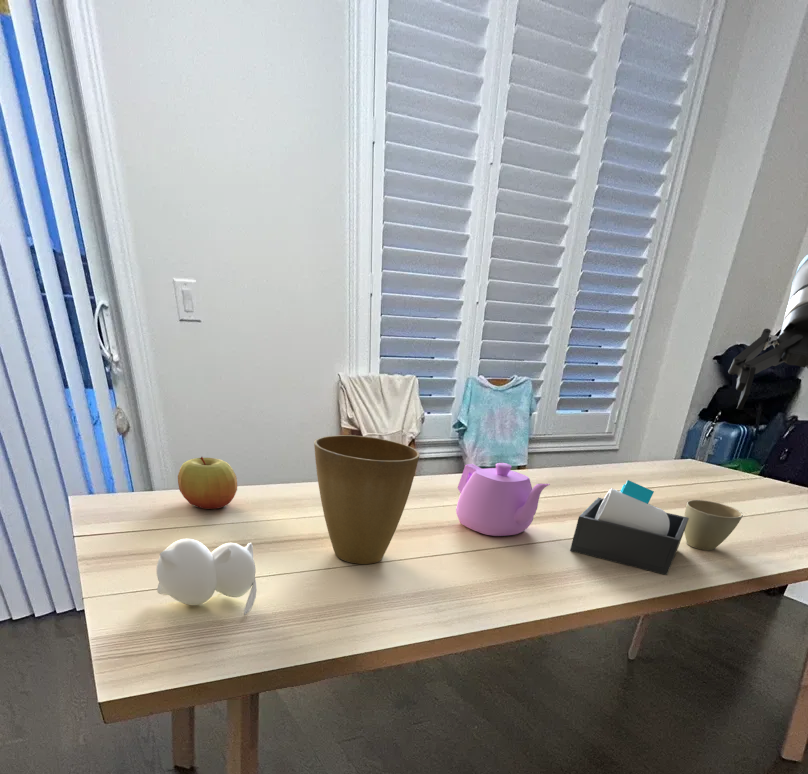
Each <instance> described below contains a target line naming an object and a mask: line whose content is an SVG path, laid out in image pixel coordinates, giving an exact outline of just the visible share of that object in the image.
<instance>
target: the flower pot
mask: <svg viewBox="0 0 808 774" xmlns="http://www.w3.org/2000/svg"><path fill="white" fill-rule="evenodd" d="M683 514H684V515H683V517H688V518H689V519H688V522H687V525H686V528H685V530H684V538H685V542H686V544H687V545H688V546H690V547H692V548H694V549H697V550H701V551H713V550H715V549H716V548H717V547H719V546H720V545H721V544H722V543H723V542H724V541H725V540H726V539H727V538H728V537H729V536H731V533H733V532H734V531H735V529H736V528H737V526H738V525H739V524H740V522H741V520H742V518H743V516H744V514H743V512H742V511H740V510H739V509H736V508H734V507H732V506H729V505H728V504H727V505H726V504H723V503H720V502H715V501H711V500H703V499H691V500H688V501H687V502H686V504H685V509H684V513H683Z"/></svg>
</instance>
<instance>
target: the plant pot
mask: <svg viewBox="0 0 808 774" xmlns="http://www.w3.org/2000/svg"><path fill="white" fill-rule="evenodd" d="M313 446H314V447H313V448H314V460H315V468H316V477H317V484H318V490H319V496H320V502H321V506H322V512H323V516H324V520H325V525H326V529H327V534H328V536H329V539H330V543H331V546H332V549H333V552H334V555H335V556H336V557H337V558H338V559H340V560H341V561H344V562H347V563H350V564H358V565H371V564H376V563H379V562H380V561H382V559H383V558H384V555H385V554H386V552H387V550H388V547H389V546H390V543H391V542H392V539H393V537H394V535H395V533H396V531H397V528H398V526H399V524H400V520H401V518H402V516H403V513H404V510H405V508H406V504H407V502H408V498H409V496H410V492H411V489H412V485H413V483H414V478H415V475H416V471H417V467H418V464H419V459H420V456H421V454H420V452H419V451H418V450H417V449H415V448H414V447H412V446H410V445H406V444H404V443H401V442H397V441H394V440H389V439H384V438H379V437H372V436H363V435H351V434H342V435H339V434H338V435H337V434H336V435H327V436H321V437H318V438H316V439H315V440H314V441H313Z"/></svg>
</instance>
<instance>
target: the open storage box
mask: <svg viewBox="0 0 808 774" xmlns="http://www.w3.org/2000/svg"><path fill="white" fill-rule="evenodd" d="M603 500H604V497H597V498H596V499H595V500H594V501H593V502H592V503H591V504H590V505H589V506H588V507H587V508H586V509H585V510H583V512H582V513H581V514H580V515H579V516H578V519H577V522H576V526H575V530H574V534H573V537H572V541H571V546H570V550H569V551H571V552H574V553H578V554H582V555H585V556H586V555H587V556H591V557H594V558H597V559H601V560H605V561H610V562H613V563H618V564H622V565H625V566H630V567H634V568H637V569H642V570H646V571H649V572H653V573H657V574H660V575H665V576H668V573H669V571H670V568H671V566H672V564H673V561H674V559H675V557H676V554H677V553H678V550H679V547H680V544H681V541H682V538H683V535H684V534H685V532H684V530H685V528H686V525H687V522H688V519H689V518H688V517H684V515H679V514H674V513H669V512H666V514H667V515H668V518H669V522H670V525H669V531H668V534H667V536H665V535H661V534H657V533H653V532H648V531H644V530H640V529H636V528H631V527H627V526H623V525H619V524H614V523H610V522H606V521H602V520H597V519H594V518H595V516H596V514H597V512H598V509H599V507H600V505H601V503H602V501H603Z"/></svg>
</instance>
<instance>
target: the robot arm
mask: <svg viewBox="0 0 808 774" xmlns="http://www.w3.org/2000/svg"><path fill="white" fill-rule="evenodd" d="M782 322H783V323H782V324H781V329H780V333H779V335H778V336H777V335H774V334H771V332H772V330H771V329H770V328H764V329H763V331H762V332H761V334H760V335H759V337H758V338H757V339H755V341H753V342H752V343H751V344H750V345H748V346H747V347H746V348H745V349H744V350H742V351H741V352H740V353H739V354H737V355H736V356H735V357H734V358H733V360H732V363H731V365H730V367H729V369H728V371H727V372H728V374H729V375H730V376H734V375H737V378H736V386H735V389H736V391H740V392H741V393H740V396H739V399H738V403H737V407H736V409H737V410H740V411H742V410H743V408H744V406H745V404H746V402H747V400H748V398H749V396H750V393H751V389H752V385H753V381H754V377H755V375H757V374H758V373H761V372H762V371H765V370H766V369H768V368H771V367H776V366H779V365H781V364H783V363H785V365H788V366H789V365H790V366H797V367H800V368H804V369H805V368H806V369H808V254H807V255H805V256H804V258H802V260H801V261H800V263H799V265H798V267H797V269H796V271H795V275H794V276H793V280H792V282H791V288H790V293H789V298H788V302H787V307H786V311H785V313H784V317H783V321H782ZM770 346H773V348H772V349H770V350H768V351H766V350H767V348H770ZM762 351H766V352H764V353H762ZM761 353H762V354H761Z"/></svg>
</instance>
